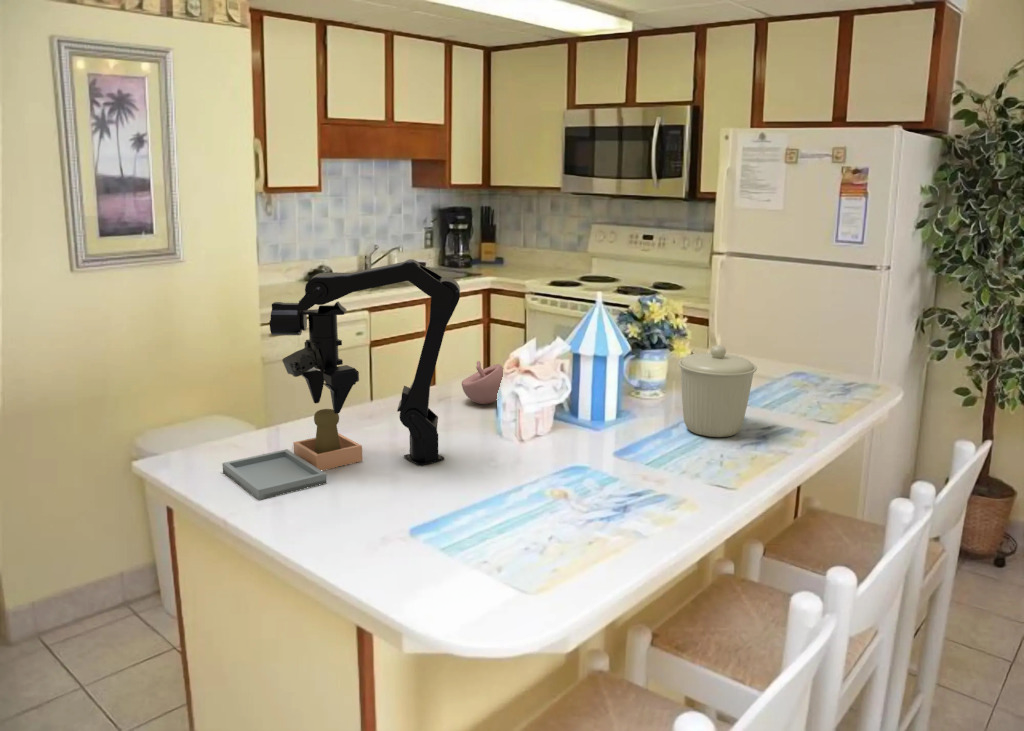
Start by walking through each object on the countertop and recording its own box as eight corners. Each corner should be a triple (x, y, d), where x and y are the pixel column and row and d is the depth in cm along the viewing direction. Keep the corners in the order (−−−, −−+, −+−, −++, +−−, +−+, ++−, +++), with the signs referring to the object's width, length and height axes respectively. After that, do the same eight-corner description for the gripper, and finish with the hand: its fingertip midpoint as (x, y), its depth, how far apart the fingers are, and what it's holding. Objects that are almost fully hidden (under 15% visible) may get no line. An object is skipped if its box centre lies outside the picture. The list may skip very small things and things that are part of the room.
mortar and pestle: (463, 396, 230) (463, 355, 227) (508, 397, 230) (508, 356, 227) (459, 409, 218) (459, 366, 216) (505, 410, 218) (506, 367, 215)
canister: (716, 448, 192) (723, 357, 187) (658, 427, 206) (663, 342, 201) (767, 434, 202) (775, 348, 197) (708, 415, 217) (714, 334, 211)
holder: (362, 461, 181) (362, 445, 180) (316, 472, 174) (316, 456, 173) (338, 447, 189) (338, 432, 188) (294, 457, 182) (293, 442, 181)
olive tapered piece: (327, 452, 185) (325, 404, 183) (348, 458, 182) (346, 409, 180) (307, 461, 180) (305, 411, 178) (329, 466, 177) (327, 416, 175)
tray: (326, 483, 168) (326, 473, 168) (258, 500, 160) (258, 490, 159) (287, 458, 182) (286, 449, 181) (222, 472, 173) (222, 463, 173)
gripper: (267, 332, 177) (271, 404, 181) (307, 348, 163) (311, 426, 167) (316, 326, 184) (319, 395, 187) (359, 341, 170) (361, 416, 173)
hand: (326, 408), depth 179 cm, fingers open, 9 cm apart
